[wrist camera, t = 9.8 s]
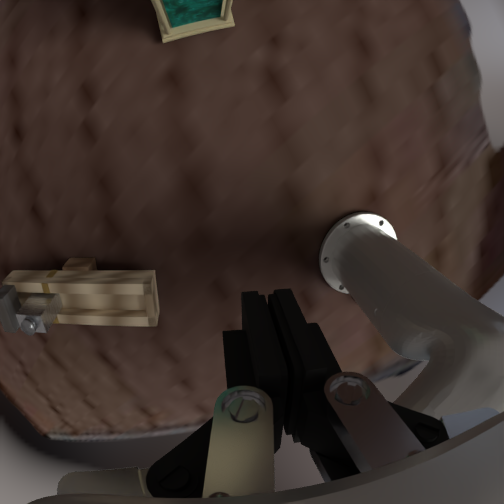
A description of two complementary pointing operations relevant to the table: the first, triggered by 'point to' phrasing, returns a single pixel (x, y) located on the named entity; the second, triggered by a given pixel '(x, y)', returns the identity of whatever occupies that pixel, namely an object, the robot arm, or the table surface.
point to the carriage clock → (191, 17)
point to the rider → (39, 312)
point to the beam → (85, 295)
